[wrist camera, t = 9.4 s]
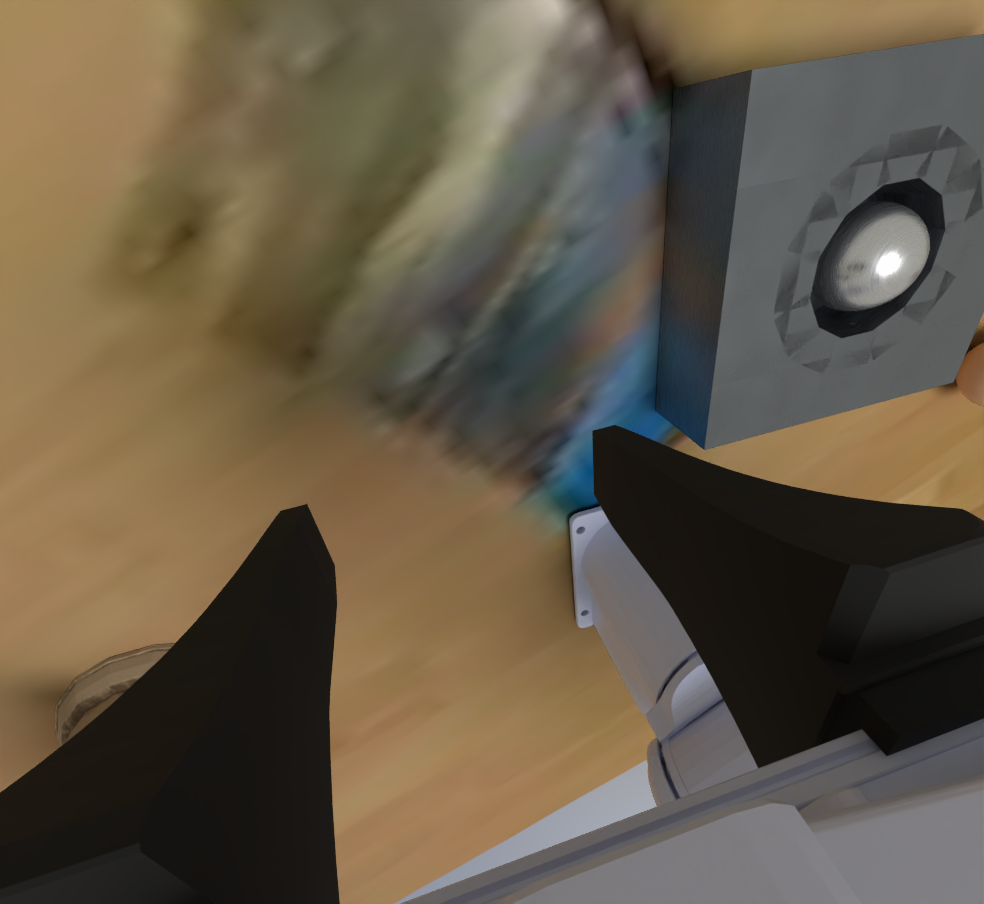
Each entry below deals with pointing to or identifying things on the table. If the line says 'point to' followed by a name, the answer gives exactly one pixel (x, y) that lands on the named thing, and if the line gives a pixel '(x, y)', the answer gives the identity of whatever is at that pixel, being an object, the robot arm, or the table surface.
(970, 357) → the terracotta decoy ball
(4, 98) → the table surface
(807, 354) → the bearing housing
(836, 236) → the steel ball
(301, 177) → the table surface
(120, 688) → the lantern
